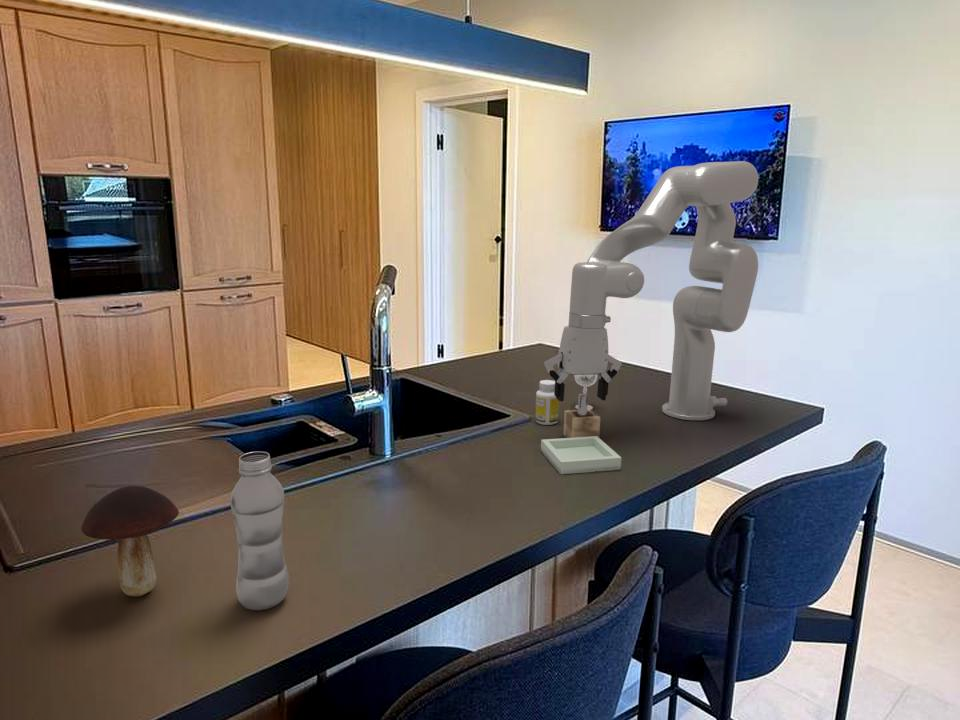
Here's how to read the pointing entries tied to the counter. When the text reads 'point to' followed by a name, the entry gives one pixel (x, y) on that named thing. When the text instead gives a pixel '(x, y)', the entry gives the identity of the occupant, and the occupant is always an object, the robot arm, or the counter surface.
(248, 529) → the plastic bottle
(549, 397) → the supplement bottle
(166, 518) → the decorative mushroom
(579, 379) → the wineglass
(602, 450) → the tray
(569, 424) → the ring
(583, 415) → the post
